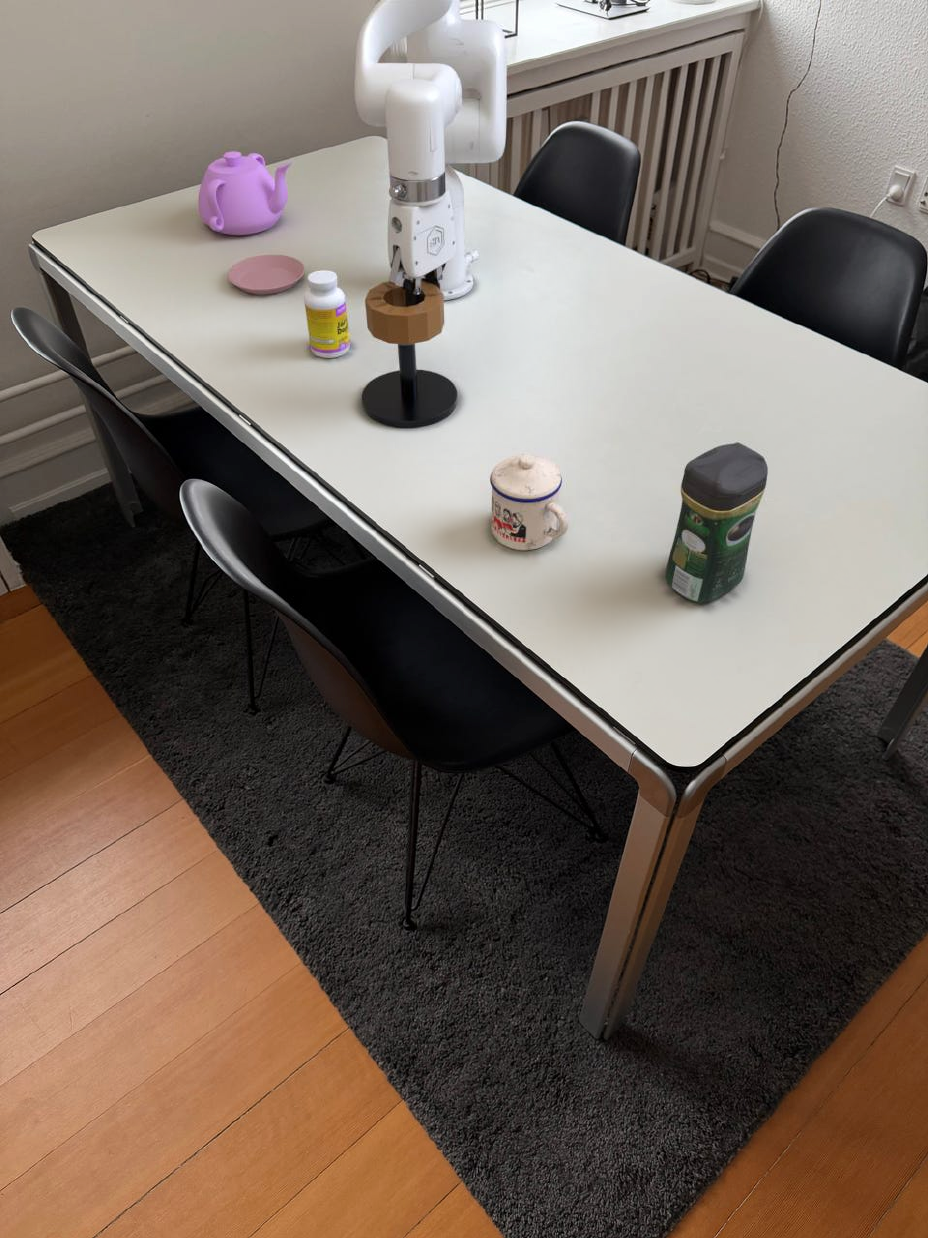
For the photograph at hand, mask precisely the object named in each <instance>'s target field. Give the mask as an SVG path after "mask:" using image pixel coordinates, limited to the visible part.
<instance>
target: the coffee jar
mask: <svg viewBox="0 0 928 1238" xmlns="http://www.w3.org/2000/svg"><path fill="white" fill-rule="evenodd" d="M768 469H769V467H768V464H767V462H766V459H765V457H764V456H762V455H761V454H760V453H759V452H757V451H756V450H754V449H752V448H750V447H749V446H746V445H745V444H743V443H741V442H738V441H735V442H734V443H726V444H721V445H718V446H716V447H715V446H714V447H712V448H711V449H709V450H707V451H705V452H703V453H701V454H699V455H698V456H696V457H695V458H693V459H692V460H690V461H688V462H687V464H686V465H685V468H684V470H683V476H682V480H681V484H680V495H681V507H680V511H679V515H678V521H677V524H676V528H675V533H674V537H673V541H672V545H671V547H670V552H669V555H668V559H667V564H666V568H665V573H664V579H665V582H666V583H667V585H668V586H669V587H670V588H671V589H672V590H673V591H674V592H675V593H676V594H678V595H679V596H680V597H682V598H684V599H686V600H688V601H691V602H694V603H700V604H708V603H710V602H713V601H715V600H718V599H719V598H721V597H723V596H724V595H727V593H729V592H731V591H732V590H733V589H735V588H736V587H737V586H738V585H739V584H740V583H741V582H742V581H743V579H744V575H745V571H746V566H747V560H748V554H749V547H750V542H751V537H752V532H753V526H754V522H755V517H756V514H757V511H758V509H759V505H760V502H761V500H762V498H763V495H764V493H765V490H766V487H767V480H768V473H769V470H768Z"/></svg>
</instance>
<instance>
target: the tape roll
mask: <svg viewBox="0 0 928 1238" xmlns="http://www.w3.org/2000/svg"><path fill="white" fill-rule="evenodd" d="M411 281H412V282H413V280H411ZM421 292H422V293H424V301H423V302H421V303H419V304H417V305H414V306H409V307H406V300H405V290H402V288H401V287H399V286H395V285H393V284H390V283H389V281H384V282H381V283H379V284H377V285H376V286H374V287H372V288H370V289H368V292H367V294H366V296H365V299H364V305H365V314H366V315H365V317H366V326H367V328H366V329H368V331H369V332H370V334H371V335H372V337H373V338H374V339H376V340H380V341H382V342H384V343H387V344H391V345H392V344H393V345H398V344H405V345H410V344H415V345H416V344H420V343H424V342H428V341H430V340H432V339H433V338H435V337H437V336H438V335H440V334H442V331H443V328H444V325H445V300H444V294H443V293H442V292H441V291H440V289H439V288H438V287H437V286H436V285H433V284H430V283H428V282H425V281H422V280H421Z"/></svg>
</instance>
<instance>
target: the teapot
mask: <svg viewBox="0 0 928 1238" xmlns="http://www.w3.org/2000/svg"><path fill="white" fill-rule="evenodd" d="M290 166H292V163H285V164H282V165H279V166H278V167H277V168H276V170H275V173H274V178H273V176H272V174H270V172H269V171H268V170H267V168H266V161H265V158H264V157H263V156H262V155H261V154H260V153H255V152H251V153H249V154H247V156H244V155H242V153H241V152H240V151H235V150H234V151H233V150H232V151H227V152H225V153H224V154H223V157H221V158H219V159H216V160H214V161H212V162H211V163H210V164H209V165H208V166H207V169H206V171H205V172H204V175H203V177H202V178H203V179H202V181H201V184H200V187H199V192H198V201H197V202H198V213H199V217H200V219H201V220H202V221H203V222H204V224H206V225H207V226H208V227H209V228H210V229H211V230H213V231H214V232H217V233H220V234H222V235H223V234H224V235H230V236H245V235H254V234H257V233H260V232H263V231H266V230H269V229H270V228H272V227H273V226H275V225H276V224H277V223H278V221H279V220H280V218H281V216H282V214H283V212H284V209H285V207H286V205H287V203H288V199H289V191H288V185H287V180H286V173H287V171H288V169H289V168H290Z"/></svg>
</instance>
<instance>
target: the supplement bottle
mask: <svg viewBox="0 0 928 1238" xmlns="http://www.w3.org/2000/svg"><path fill="white" fill-rule="evenodd" d="M307 285H308V287H309V289H308V290H307V291H306V292H305V294H304V296H303V301H304V308H305V314H306V315H305V316H306V323H307V330H308V338H309V346H310V350H311V353H313V354H314V355H315V356H317V357H320V358H325V359H334V358H338V357H342V356H343V355H345V354H347V352H349V350H350V347H351V341H350V330H349V321H348V312H347V303H346V302H347V301H346V295H345V292H344V291H343V289H341V288H340V287H339V286H338V275H337V274H336V273H335V272H334V271H332V270H327V269H326V270H325V269H324V270H323V269H321V270H315V271H312V272H311V273H309V274H308V275H307Z"/></svg>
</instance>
